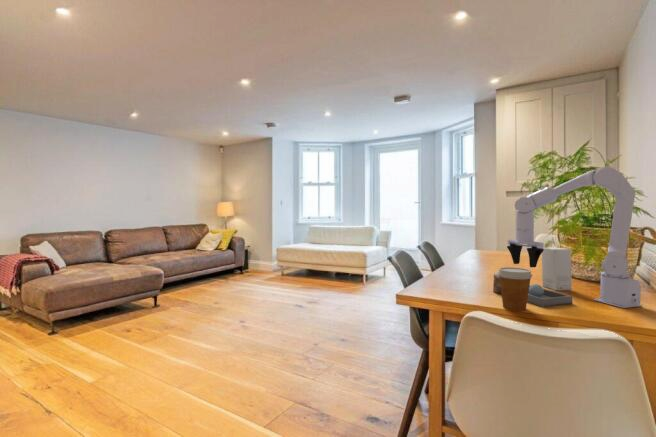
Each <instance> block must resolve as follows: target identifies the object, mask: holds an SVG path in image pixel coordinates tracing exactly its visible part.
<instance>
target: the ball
mask: <svg viewBox="0 0 656 437" xmlns="http://www.w3.org/2000/svg"><path fill="white" fill-rule="evenodd" d="M530 285H531V286H530ZM530 285H529V286H530V287H529V293H530V295H533V296H536V297H541V296H542V295H543V293H544V290H543V289H544V288H543V286H542V285H540V284H538V283H534V284H530Z"/></svg>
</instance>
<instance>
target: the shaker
mask: <svg viewBox="0 0 656 437" xmlns="http://www.w3.org/2000/svg"><path fill="white" fill-rule="evenodd" d="M492 285H493V287H492V292H493V293H495V294H498V295H499V294H501V286H500V278H499V275H498V272H497V273H493V284H492ZM501 295H502V294H501Z"/></svg>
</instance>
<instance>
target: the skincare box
mask: <svg viewBox="0 0 656 437" xmlns="http://www.w3.org/2000/svg"><path fill="white" fill-rule="evenodd" d="M542 249H544V251H543V252H542V253H541V276H542V277H541V278H542V287H544V288H546V289H547V288H548V289H550V290H552V291H555V292H558V291H561V292H562V291H563V292H565V291H572V290H573V288H572V286H573V285H572V284H573V283H572V282H573V281H572V249H571V248H564V247H552V246H551V247H544V248H542Z"/></svg>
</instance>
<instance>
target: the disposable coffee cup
mask: <svg viewBox="0 0 656 437" xmlns="http://www.w3.org/2000/svg"><path fill="white" fill-rule="evenodd" d="M497 273H498V275H499V278H500V286H501V300H502V307H503V308H504V309H506V310H510V311H514V312H515V311H517V312H518V311H519V312H520V311H521V312H523V311H526V310H527V305H528V304H527V303H528V302H527V298H528V292H529V286H530V285H531V279H532V277H533V274H532V272H531V270H530V269H527V268H522V267H511V266H510V267H509V266H508V267H506V266H505V267H500V268H499V269H498V272H497Z"/></svg>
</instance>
